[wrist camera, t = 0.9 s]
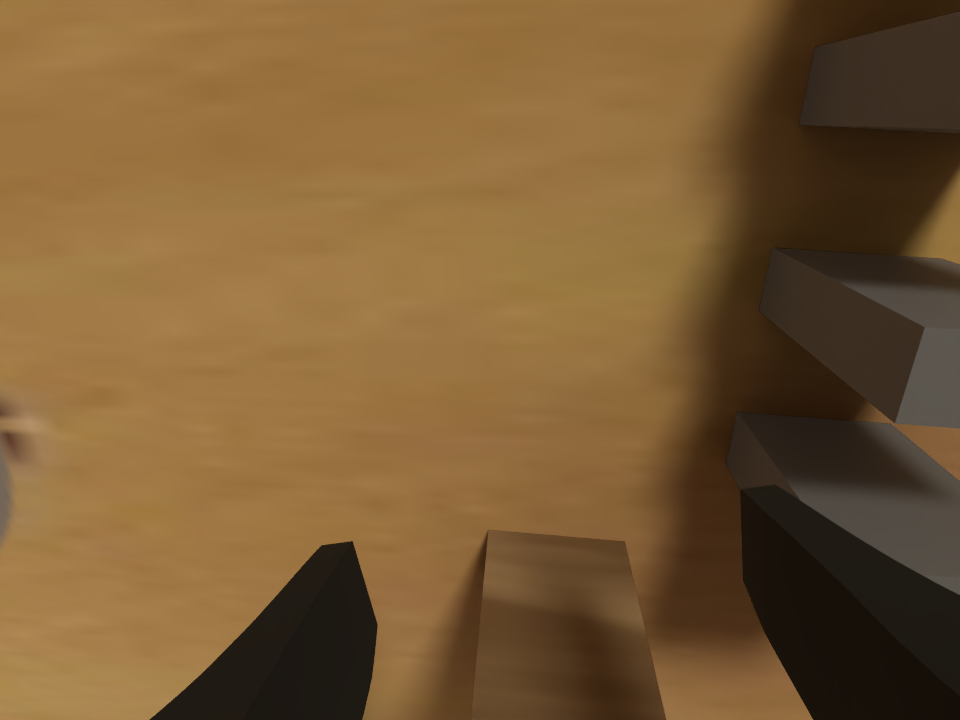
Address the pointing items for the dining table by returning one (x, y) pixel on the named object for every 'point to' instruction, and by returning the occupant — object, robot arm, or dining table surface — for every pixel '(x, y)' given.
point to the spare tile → (561, 633)
